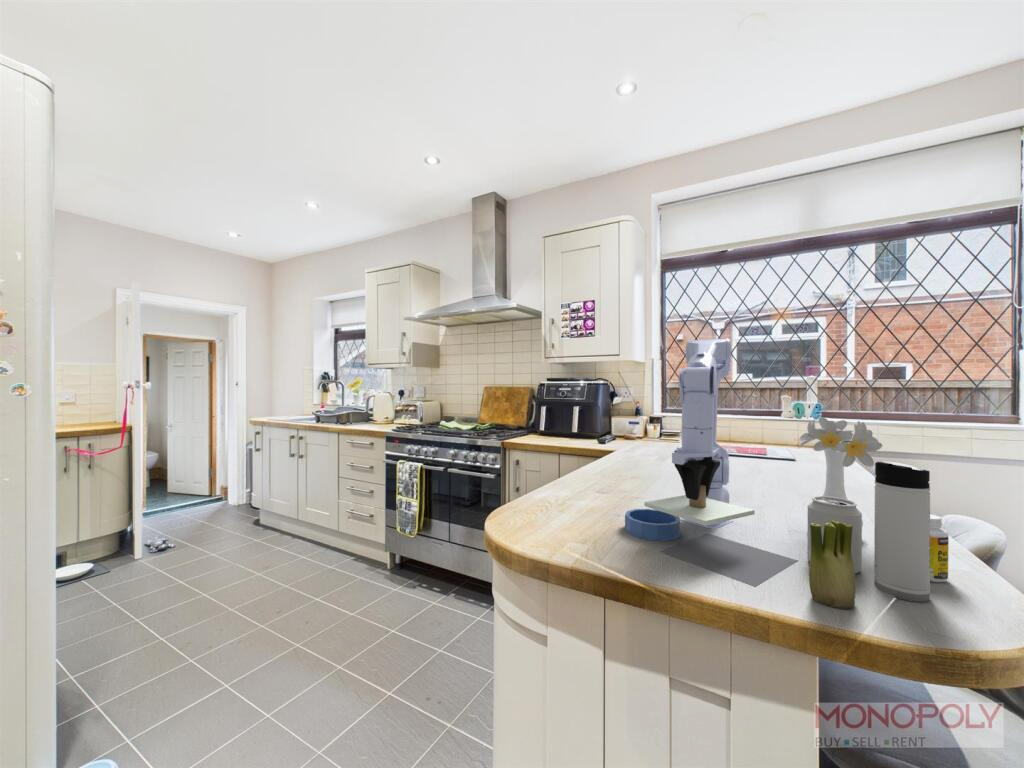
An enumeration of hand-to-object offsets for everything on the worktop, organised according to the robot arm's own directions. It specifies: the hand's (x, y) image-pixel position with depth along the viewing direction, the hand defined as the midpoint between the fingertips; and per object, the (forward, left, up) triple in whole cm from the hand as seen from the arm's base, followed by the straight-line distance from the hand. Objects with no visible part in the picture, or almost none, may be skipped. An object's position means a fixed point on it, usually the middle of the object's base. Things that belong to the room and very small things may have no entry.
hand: (697, 497), depth 81 cm
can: (-11, +19, -10) cm, 24 cm away
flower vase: (-32, +14, -10) cm, 36 cm away
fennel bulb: (+4, +23, -10) cm, 25 cm away
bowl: (0, -10, -10) cm, 14 cm away
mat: (0, +6, -10) cm, 11 cm away
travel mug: (-9, +28, -10) cm, 31 cm away
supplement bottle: (-20, +29, -10) cm, 37 cm away
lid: (0, 0, -2) cm, 3 cm away
